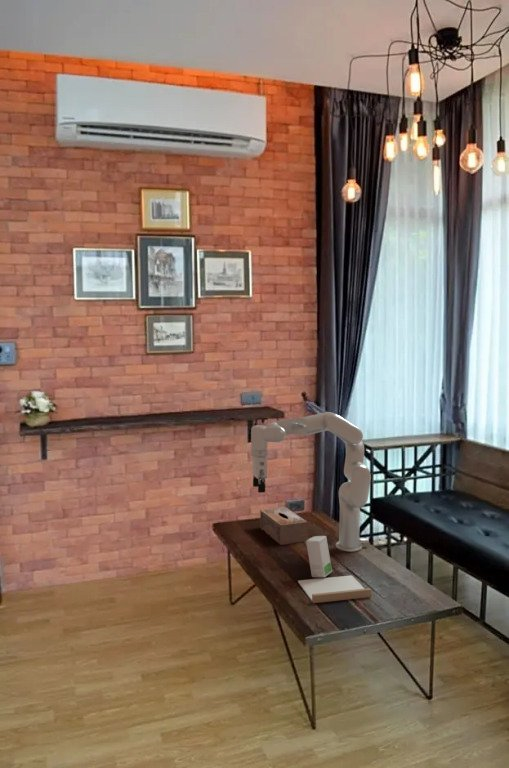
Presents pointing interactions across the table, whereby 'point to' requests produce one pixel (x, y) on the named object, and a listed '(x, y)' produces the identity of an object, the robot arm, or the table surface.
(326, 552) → the skincare box
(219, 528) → the table surface
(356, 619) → the table surface
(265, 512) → the tissue box cover
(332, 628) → the table surface
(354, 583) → the white flat piece
